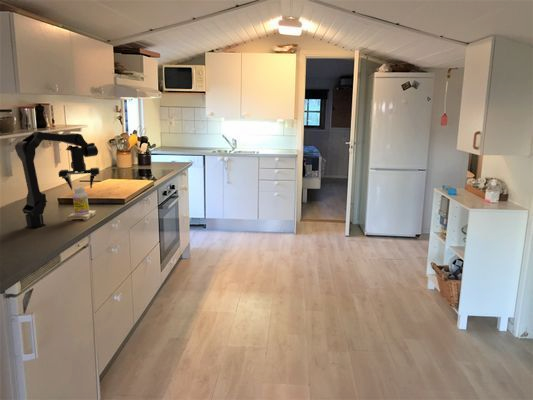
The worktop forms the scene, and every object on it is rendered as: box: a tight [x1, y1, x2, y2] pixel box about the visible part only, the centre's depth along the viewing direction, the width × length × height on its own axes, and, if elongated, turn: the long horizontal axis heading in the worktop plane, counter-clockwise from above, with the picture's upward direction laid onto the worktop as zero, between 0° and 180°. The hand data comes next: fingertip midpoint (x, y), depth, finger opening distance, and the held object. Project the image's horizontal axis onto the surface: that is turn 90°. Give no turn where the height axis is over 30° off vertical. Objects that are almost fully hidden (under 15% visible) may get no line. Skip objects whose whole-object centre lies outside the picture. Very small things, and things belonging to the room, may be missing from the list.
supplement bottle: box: [72, 186, 90, 215], centre depth 218 cm, size 7×7×13 cm
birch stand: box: [66, 209, 98, 222], centre depth 220 cm, size 12×10×2 cm
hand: (81, 188), depth 224 cm, fingers open, 9 cm apart
